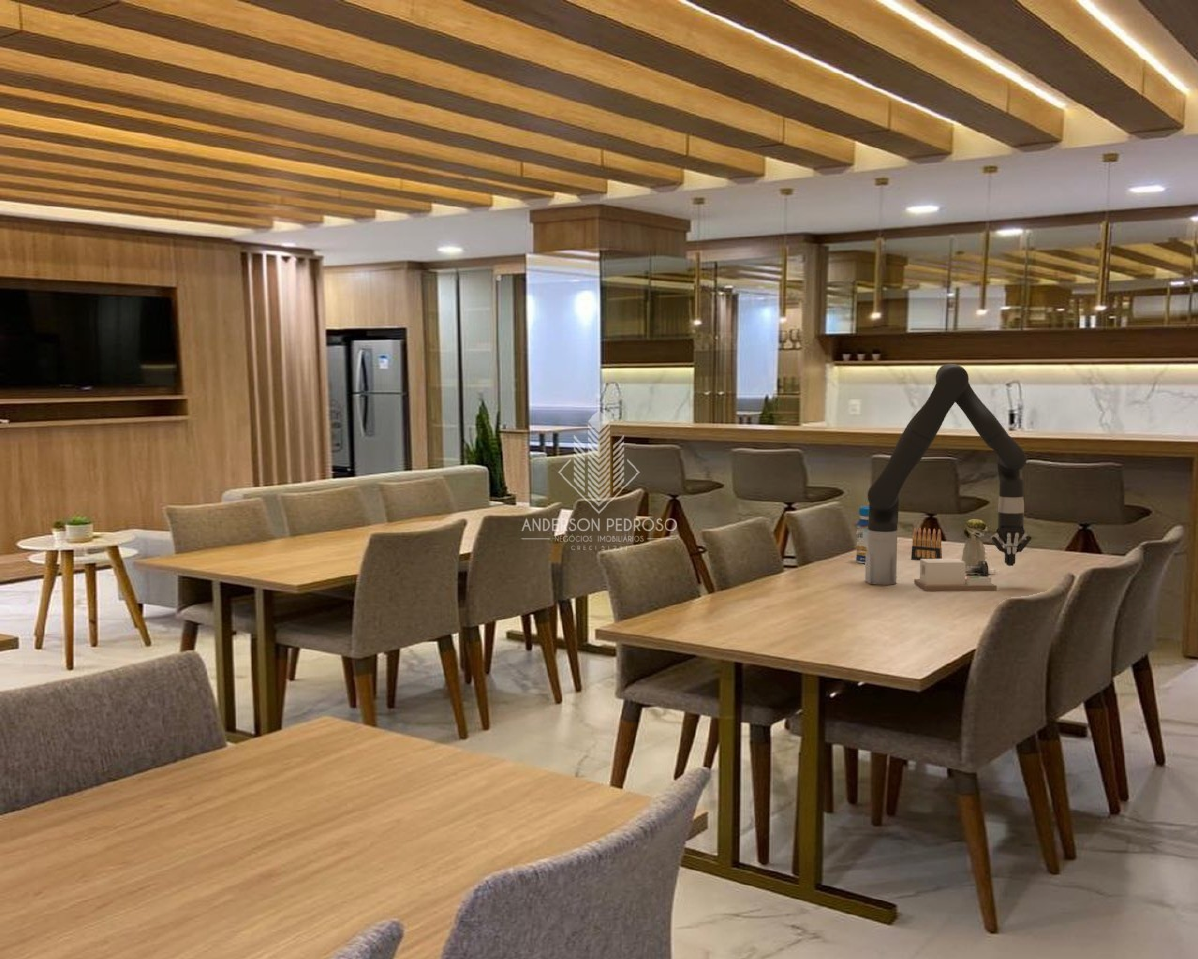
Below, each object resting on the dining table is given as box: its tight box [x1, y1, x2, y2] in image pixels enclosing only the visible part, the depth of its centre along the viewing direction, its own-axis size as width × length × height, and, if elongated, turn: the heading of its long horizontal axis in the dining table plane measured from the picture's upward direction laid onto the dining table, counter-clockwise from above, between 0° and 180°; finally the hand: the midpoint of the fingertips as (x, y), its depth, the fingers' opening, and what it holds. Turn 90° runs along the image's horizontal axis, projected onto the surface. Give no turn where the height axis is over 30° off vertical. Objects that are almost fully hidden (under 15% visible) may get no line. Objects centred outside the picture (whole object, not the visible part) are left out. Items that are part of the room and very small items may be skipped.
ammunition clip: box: [910, 526, 943, 561], centre depth 380 cm, size 11×2×12 cm, turn 55°
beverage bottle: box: [855, 505, 869, 564], centre depth 377 cm, size 8×8×20 cm
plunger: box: [965, 560, 991, 577], centre depth 330 cm, size 14×8×6 cm, turn 90°
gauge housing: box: [913, 558, 998, 592], centre depth 332 cm, size 22×12×8 cm, turn 90°
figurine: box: [961, 518, 997, 576], centre depth 355 cm, size 12×13×18 cm
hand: (1010, 565), depth 331 cm, fingers closed
